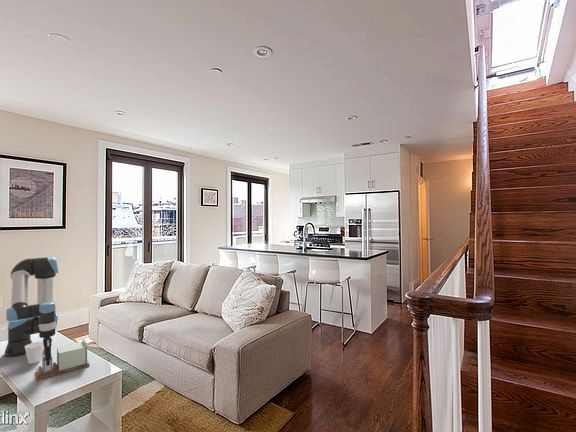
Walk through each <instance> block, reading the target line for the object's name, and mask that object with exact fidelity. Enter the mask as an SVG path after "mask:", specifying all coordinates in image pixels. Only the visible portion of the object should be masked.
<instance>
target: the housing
mask: <svg viewBox="0 0 576 432" xmlns="http://www.w3.org/2000/svg"><path fill="white" fill-rule="evenodd" d="M87 360H88V342H87V340H86V338H85V337H84V336H82V341H78V342H75V343H70V344H66V345H61V346H58V347H56V364H57V365H58V364H59V371H61V370H65V369H68V368H72V367H76V366H79V365H83V364H87Z"/></svg>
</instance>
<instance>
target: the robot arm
mask: <svg viewBox="0 0 576 432" xmlns="http://www.w3.org/2000/svg"><path fill="white" fill-rule="evenodd" d="M58 273H59V267H58V261H57V258H56V257H54V256H52V257H49V256H48V257H47V256H46V257H35V258H34V257H33V258H26V259H25V258H24V259H22V260H20V261H19V262H18V263H16V264H15V266H13V268H12V270H11V271H10V280H12V283H11V303H10V304H11V306H10V307H9V308H8V307H7V309H6V313H5V314H6V315H5V317H6V321H7V322H8V324H7V345H6V347H5V350H4V357H8V358H10V357H13V358H14V357H18V356H19V357H20V356H23V355H26V350H25V348H24V347H25V346H26V345H28V344H31V343H33V341H32V338H31V336H32V335H36V334H38V335H39V336H38V337H39V338H40V339H42V342H43V345H44V346H43V357H44V356H45V359H44V361H45V371H48V370H51V355H52V342H53V338H52V337H53V336H55V335H56V328H57V325H58V320H59V319H58V317H59V314H58V313H57V312H56V309H57V308H56V302H54V278H55V277H56V275H57V274H58ZM30 276H31V277H32V276H33V277H34V279H36V281H37V298H36V299H37V303H36V304H30V305H29V304H28V303H29V300H28V299H29V298H28V297H29V295H28V294H29V292H28V291H29V278H30Z"/></svg>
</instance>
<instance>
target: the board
mask: <svg viewBox="0 0 576 432" xmlns="http://www.w3.org/2000/svg"><path fill="white" fill-rule="evenodd" d="M88 367H90V362H89V361H88V359H87V364H83V365H79V366H76V367H72V368H68V369H65V370H61V371H59V364H58V365H57V361H56V362H55V361H54V362H52V371H50V372H46V373H43V372H42V365H39V366H38V368H35V375H36V381H37V382H38V381H41V380H45V379H48V378H49V379H50V378H53V377H56V376H59V375H63V374H67V373H70V372H71V373H72V372H74V371H78V370H81V369H85V368H88Z"/></svg>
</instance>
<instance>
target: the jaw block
mask: <svg viewBox="0 0 576 432" xmlns="http://www.w3.org/2000/svg"><path fill="white" fill-rule="evenodd" d="M44 359H45V356H44V355H43V356H41V361H42V363H41V364H42V365H41V368H42V372H43V373H46V372H50V371H52V365H53V355H52V354H51V370H48V371H45V361H44Z"/></svg>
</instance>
